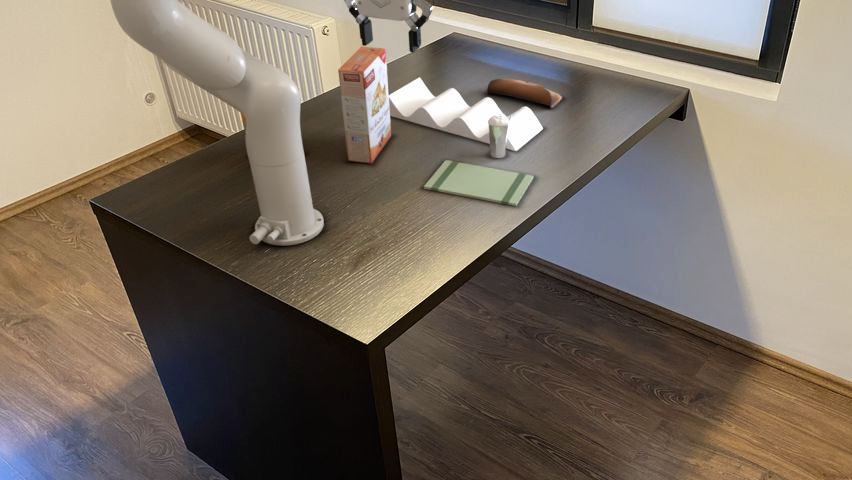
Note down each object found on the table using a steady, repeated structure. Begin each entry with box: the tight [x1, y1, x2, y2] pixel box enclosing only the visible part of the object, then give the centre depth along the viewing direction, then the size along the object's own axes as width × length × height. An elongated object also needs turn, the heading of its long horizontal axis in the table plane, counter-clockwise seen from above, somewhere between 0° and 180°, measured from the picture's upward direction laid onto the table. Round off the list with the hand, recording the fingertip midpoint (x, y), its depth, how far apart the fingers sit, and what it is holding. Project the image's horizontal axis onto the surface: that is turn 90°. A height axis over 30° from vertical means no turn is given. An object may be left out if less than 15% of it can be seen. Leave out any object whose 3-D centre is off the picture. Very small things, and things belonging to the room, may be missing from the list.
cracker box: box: [337, 46, 392, 165], centre depth 161 cm, size 14×6×21 cm, turn 168°
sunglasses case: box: [486, 78, 563, 109], centre depth 189 cm, size 18×7×7 cm
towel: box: [423, 159, 535, 207], centre depth 156 cm, size 12×20×1 cm, turn 71°
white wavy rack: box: [389, 77, 544, 152], centre depth 177 cm, size 13×35×5 cm, turn 60°
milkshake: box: [488, 115, 511, 159], centre depth 163 cm, size 4×5×10 cm
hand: (391, 46), depth 139 cm, fingers open, 9 cm apart
